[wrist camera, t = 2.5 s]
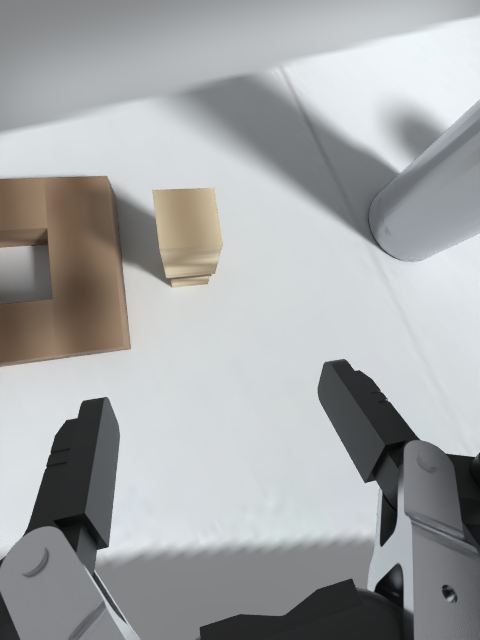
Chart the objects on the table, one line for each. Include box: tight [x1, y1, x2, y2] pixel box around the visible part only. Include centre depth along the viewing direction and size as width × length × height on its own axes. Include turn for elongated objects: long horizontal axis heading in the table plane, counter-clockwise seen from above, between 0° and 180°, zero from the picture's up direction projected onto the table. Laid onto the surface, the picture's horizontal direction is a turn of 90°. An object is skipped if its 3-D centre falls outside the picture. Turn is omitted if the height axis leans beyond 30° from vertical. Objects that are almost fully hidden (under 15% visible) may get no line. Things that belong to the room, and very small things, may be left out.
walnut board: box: [0, 176, 131, 367], centre depth 25 cm, size 16×15×3 cm
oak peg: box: [152, 188, 223, 287], centre depth 24 cm, size 4×4×10 cm
